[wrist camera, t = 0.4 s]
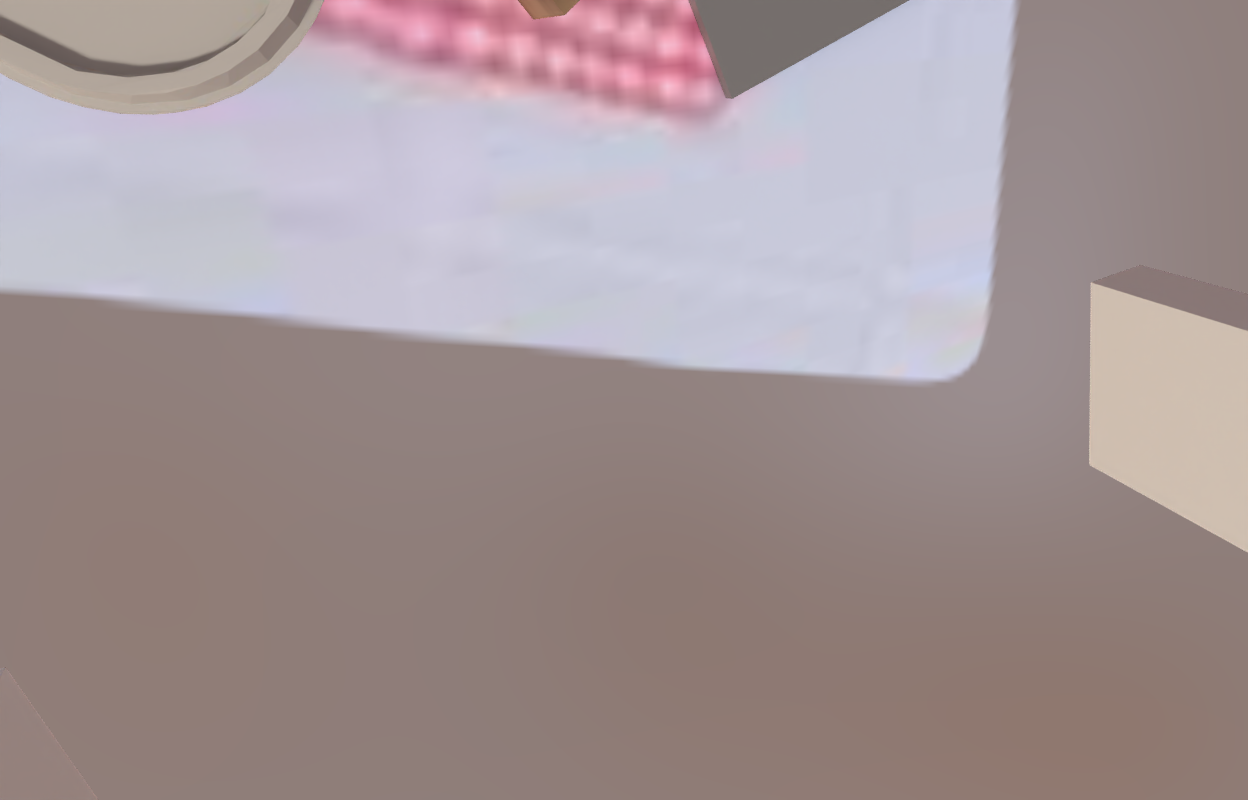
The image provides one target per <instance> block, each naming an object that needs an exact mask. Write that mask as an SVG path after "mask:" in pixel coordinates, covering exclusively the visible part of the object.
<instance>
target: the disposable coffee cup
mask: <svg viewBox="0 0 1248 800" xmlns="http://www.w3.org/2000/svg"><path fill="white" fill-rule="evenodd" d="M323 2H324V0H0V73H1V74H3V75H5V76H6V77H8V78H10V79H12V80H14V81H16V82H19V83H21V84H23V85H25V86H27V87H30V88H32V89H34V90H36V91H38V92H40V93H43V94H45V95H47V96H49V97H52V98H55V99H59V100H62V101H66V102H69V103H72V104H76V105H79V106H82V107H87V108H92V109H98V110H103V111H109V112H115V113H120V114H165V113H176V112H181V111H186V110H191V109H196V108H201V107H206V106H209V105H211V104H214V103H216V102H219V101H221V100H224V99H226V98H229V97H231V96H234V95H236V94H239V93H241V92H243V91H244V90H246V89H247V88H249V87H250V86H252V85H254V84H255V83H257V82H258V81H260V80H262V79H263V78H265V77H266V76H268V75H269V74H270V73H271V72H272V71H273V70H274V69H275V68H276V67H277V66H278V65H279V64H280V63H281V62H282V61H283V60H284V59H285V58H286V57H287V56H288V55H289V54H290V53H291V52H292V51H293V50H294V49H296V48H297V47H298V45H299V44H300V42H301V41H302V39H303V38H304V36H305V35H306V33H307V32H308V30H309V29H310V27H311V26H312V24H313V23H314V21H315V19H316V17H317V15H318V13H319V11H320V8H321V6H322V4H323Z"/></svg>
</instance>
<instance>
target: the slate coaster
mask: <svg viewBox="0 0 1248 800" xmlns="http://www.w3.org/2000/svg"><path fill="white" fill-rule="evenodd" d="M907 1H909V0H689V2H690V5H691V8H692V10H693V13H694V16H695V18H696V21H697V23H698V26H699V29H700V31H701V34H702V36H703V39H704V42H705V44H706V47H707V49H708V52H709V55H710V57H711V60H712V62H713V65H714V68H715V70H716V73H717V76H718V78H719V81H720V83H721V86H722V89H723V91H724V94H725V96H726V98H731V99H732V98H734V97H736V96H738V95H740V94H741V93H743V92H745V91H747V90H749V89H750V88H752V87H754V86H756V85H758V84H759V83H761V82H763V81H765V80H767V79H768V78H770V77H772V76H774V75H776V74H777V73H779V72H781V71H783V70H785V69H786V68H788V67H790V66H792V65H794V64H795V63H797V62H799V61H801V60H803V59H804V58H806V57H808V56H810V55H811V54H813V53H815V52H817V51H819V50H820V49H822V48H824V47H826V46H828V45H829V44H831V43H833V42H835V41H837V40H838V39H840V38H842V37H844V36H846V35H847V34H849V33H851V32H853V31H855V30H856V29H858V28H860V27H862V26H864V25H865V24H867V23H869V22H871V21H873V20H874V19H876V18H878V17H880V16H882V15H883V14H885V13H887V12H889V11H891V10H892V9H894V8H896V7H898V6H900V5H901V4H903V3H905V2H907Z"/></svg>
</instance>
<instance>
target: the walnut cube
mask: <svg viewBox="0 0 1248 800" xmlns="http://www.w3.org/2000/svg"><path fill="white" fill-rule="evenodd" d="M518 1H519V2H520V3H521V5H522V6H523V7H524V8H525V10H526V11H527V12H528V13H529V15H530V16H531V17H532V18H533V19H540V18H547V17H554V16H561V15H565V14H566V13H567V12H568V11H569V10H570V9H571V8H572V7H573V6H574V5H575V4H576V3H577V2H578V1H579V0H518Z"/></svg>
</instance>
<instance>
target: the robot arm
mask: <svg viewBox="0 0 1248 800" xmlns="http://www.w3.org/2000/svg"><path fill="white" fill-rule="evenodd" d="M1090 336H1091V337H1090V447H1089V449H1090V450H1089V459H1090V460H1089V465H1091V466H1092V467H1094V468H1096V469H1098V470H1100V471H1101V472H1103V473H1106V474H1107V475H1109V476H1110V477H1112V478H1114V479H1116V480H1118V481H1119V482H1121V483H1123V484H1125V485H1127V486H1129V487H1130V488H1132V489H1134V490H1136V491H1138V492H1139V493H1141V494H1143V495H1145V496H1147V497H1149V498H1150V499H1152V500H1154V501H1156V502H1157V503H1159V504H1161V505H1163V506H1165V507H1167V508H1168V509H1170V510H1172V511H1174V512H1176V513H1178V514H1179V515H1181V516H1183V517H1185V518H1187V519H1188V520H1190V521H1192V522H1194V523H1195V524H1197V525H1199V526H1201V527H1203V528H1205V529H1206V530H1208V531H1210V532H1212V533H1214V534H1215V535H1217V536H1219V537H1221V538H1223V539H1225V540H1226V541H1228V542H1230V543H1232V544H1234V545H1235V546H1237V547H1239V548H1241V549H1243V550H1244V551H1246V552H1248V294H1246V293H1243V292H1239V291H1235V290H1232V289H1228V288H1224V287H1220V286H1216V285H1213V284H1209V283H1206V282H1202V281H1198V280H1195V279H1191V278H1187V277H1183V276H1180V275H1176V274H1172V273H1169V272H1165V271H1161V270H1157V269H1154V268H1150V267H1146V266H1143V265H1139V266H1136V267H1133V268H1130V269H1127V270H1125V271H1122V272H1119V273H1116V274H1113V275H1111V276H1108V277H1105V278H1102V279H1099V280H1096V281H1094V282H1091V332H1090ZM0 800H98V798H97V797H96V796H95V794H94V793H93V791H92V790H91V789H90V787H89V786H88V785H87V783H86V781H85V780H84V778H83V777H82V776H81V774H80V773H79V772H78V770H77V768H76V767H75V766H74V764H73V763H72V761H71V760H70V759H69V757H68V756H67V754H66V753H65V751H64V750H63V748H62V747H61V746H60V744H59V743H58V741H57V740H56V739H55V737H54V736H53V734H52V733H51V731H50V730H49V728H48V727H47V726H46V724H45V723H44V721H43V720H42V718H41V717H40V716H39V714H38V713H37V712H36V710H35V708H34V707H33V706H32V704H31V703H30V701H29V700H28V698H27V697H26V696H25V694H24V693H23V691H22V690H21V688H20V687H19V686H18V684H17V683H16V681H15V680H14V678H13V677H12V676H11V674H10V673H9V671H8V670H7V668H6V667H5V668H2V669H0Z"/></svg>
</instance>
